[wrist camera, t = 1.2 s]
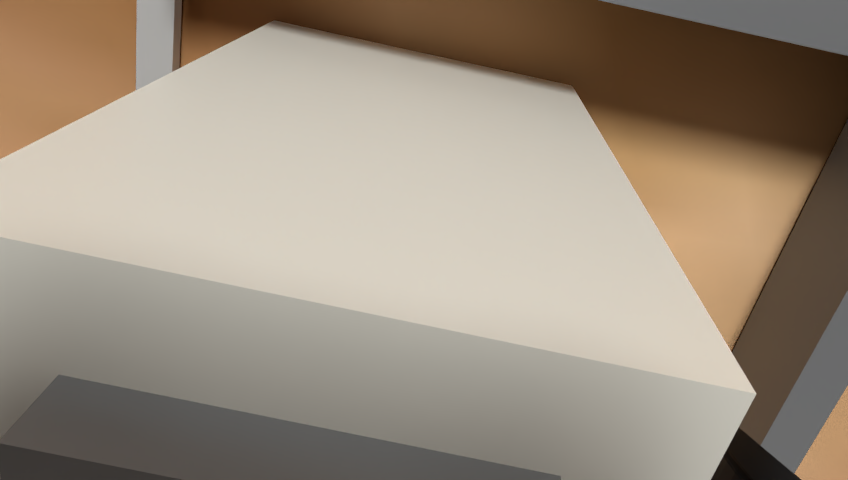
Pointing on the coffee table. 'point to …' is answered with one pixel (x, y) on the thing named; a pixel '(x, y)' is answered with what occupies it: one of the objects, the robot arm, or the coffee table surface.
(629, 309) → the cream box grey panel
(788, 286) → the grey flat square frame
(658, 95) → the coffee table surface
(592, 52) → the coffee table surface
